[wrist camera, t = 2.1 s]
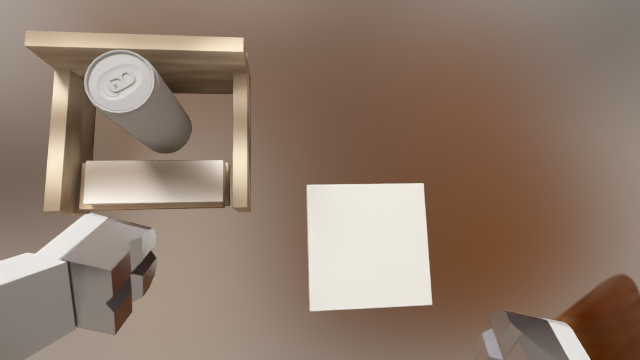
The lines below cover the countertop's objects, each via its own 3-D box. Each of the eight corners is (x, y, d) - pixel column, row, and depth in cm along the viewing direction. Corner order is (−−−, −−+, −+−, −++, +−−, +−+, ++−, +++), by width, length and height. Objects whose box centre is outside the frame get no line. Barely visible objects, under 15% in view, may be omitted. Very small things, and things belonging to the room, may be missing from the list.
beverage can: (132, 124, 37) (67, 70, 26) (176, 98, 38) (132, 35, 27) (159, 164, 37) (106, 128, 25) (202, 137, 38) (170, 91, 26)
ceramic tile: (429, 303, 38) (432, 304, 37) (309, 310, 37) (309, 311, 36) (421, 184, 40) (423, 183, 39) (306, 185, 38) (306, 184, 38)
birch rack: (250, 211, 37) (243, 202, 29) (75, 215, 36) (9, 206, 27) (250, 75, 40) (243, 28, 31) (84, 72, 38) (26, 20, 29)
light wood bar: (229, 209, 37) (223, 204, 33) (95, 211, 36) (69, 207, 31) (230, 165, 38) (224, 155, 33) (97, 166, 36) (73, 156, 32)
